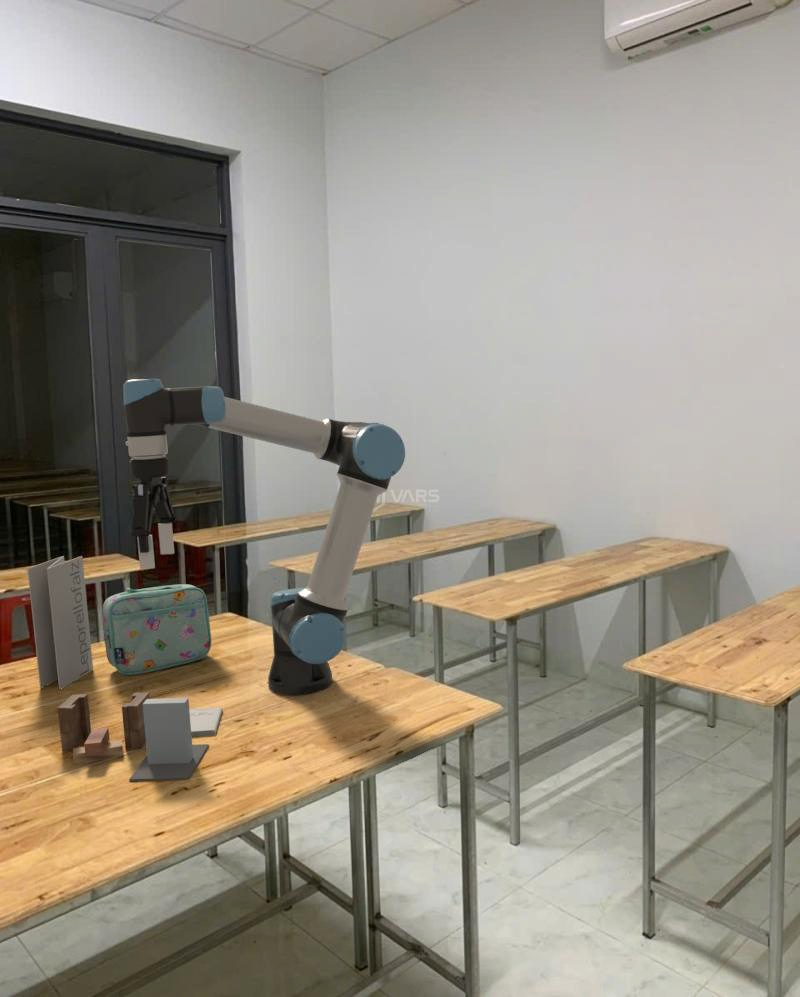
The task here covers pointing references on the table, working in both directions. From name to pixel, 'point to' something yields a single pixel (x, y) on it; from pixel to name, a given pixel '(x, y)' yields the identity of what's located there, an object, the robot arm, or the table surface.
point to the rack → (78, 725)
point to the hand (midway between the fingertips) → (158, 560)
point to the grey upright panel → (168, 730)
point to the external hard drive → (204, 721)
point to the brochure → (60, 620)
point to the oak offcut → (109, 752)
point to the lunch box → (156, 628)
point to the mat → (169, 768)
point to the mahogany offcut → (96, 742)
